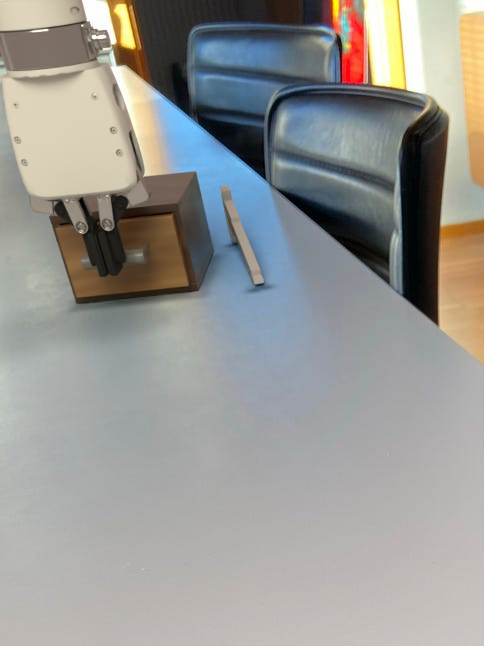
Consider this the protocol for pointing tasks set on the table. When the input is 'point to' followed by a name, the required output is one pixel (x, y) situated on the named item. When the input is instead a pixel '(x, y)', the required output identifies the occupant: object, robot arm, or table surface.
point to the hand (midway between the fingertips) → (111, 271)
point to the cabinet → (191, 222)
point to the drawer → (129, 258)
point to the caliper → (240, 235)
